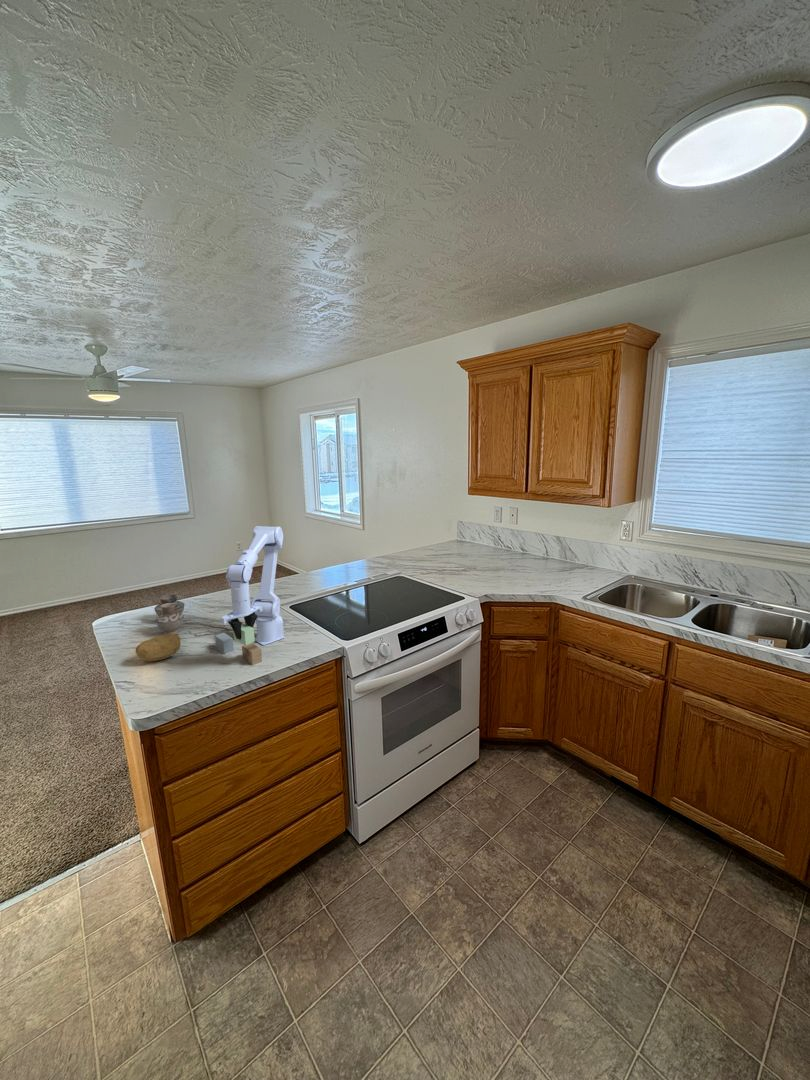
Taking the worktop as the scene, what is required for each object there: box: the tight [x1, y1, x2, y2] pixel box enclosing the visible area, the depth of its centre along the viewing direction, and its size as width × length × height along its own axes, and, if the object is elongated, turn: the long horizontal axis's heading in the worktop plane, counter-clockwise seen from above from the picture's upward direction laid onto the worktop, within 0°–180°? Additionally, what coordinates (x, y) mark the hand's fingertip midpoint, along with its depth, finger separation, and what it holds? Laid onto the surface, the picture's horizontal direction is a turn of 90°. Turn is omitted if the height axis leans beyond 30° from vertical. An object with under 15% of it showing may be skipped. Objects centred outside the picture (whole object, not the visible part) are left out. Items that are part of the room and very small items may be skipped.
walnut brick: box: [241, 642, 263, 666], centre depth 152 cm, size 7×4×5 cm, turn 47°
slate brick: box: [214, 632, 235, 654], centre depth 160 cm, size 7×4×5 cm, turn 47°
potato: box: [135, 633, 181, 662], centre depth 152 cm, size 10×14×8 cm
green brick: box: [232, 622, 256, 645], centre depth 150 cm, size 7×4×5 cm, turn 53°
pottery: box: [153, 593, 185, 635], centre depth 179 cm, size 11×25×12 cm, turn 29°
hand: (244, 636), depth 150 cm, fingers closed on green brick, 3 cm apart
